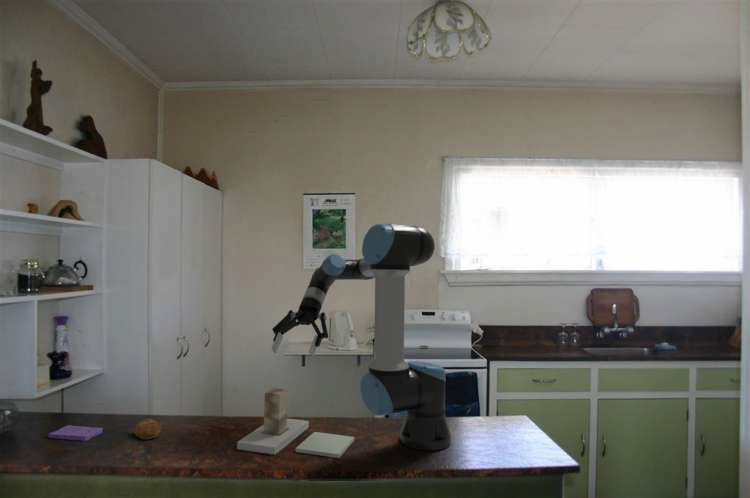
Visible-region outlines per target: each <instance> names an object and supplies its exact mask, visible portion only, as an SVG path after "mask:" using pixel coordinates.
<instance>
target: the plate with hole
mask: <svg viewBox="0 0 750 498" xmlns="http://www.w3.org/2000/svg"><path fill="white" fill-rule="evenodd" d="M309 425H310V422H309V420H304V419H294V418H288V417H287V431H286V432H285V433H283V434H282V435H281V436H276V435H269V434H264V424H263V425H261V426H260V427H257V429H255V430H254V431H252V432H250V433H248V434H247V435H246V436H243V438H241V439H240V440H238V441H237V442H236V443H237V444H236V449H237V450H239V451H240V450H241V451H246V452H252V453H253V452H254V453H255V452H256V453H260V454H261V453H262V454H266V453H267V455H273V454H274V455H276V453H277V454H278V453H279V452H280V451H281V450H283V449H285V447H286V446H287V445H289V444H291V443H292V441H294V440H295V439H296V438H297V437H299V436H300V435H302V433H303V432H304V431H306V430H308V429H309V427H310V426H309ZM274 455H273V456H274Z"/></svg>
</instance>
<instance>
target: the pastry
mask: <svg viewBox="0 0 750 498" xmlns="http://www.w3.org/2000/svg"><path fill="white" fill-rule="evenodd" d="M160 433H161V426H160V424H159V422H158V421H157V420H153V419H149V418H148V419H144V420H142V421H139V422H138V423H137V424H136V426H135V427H134V434H135V436H136V437H138V438H139V439H141V440H150V439H154V438H158V437H159V435H160Z"/></svg>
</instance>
